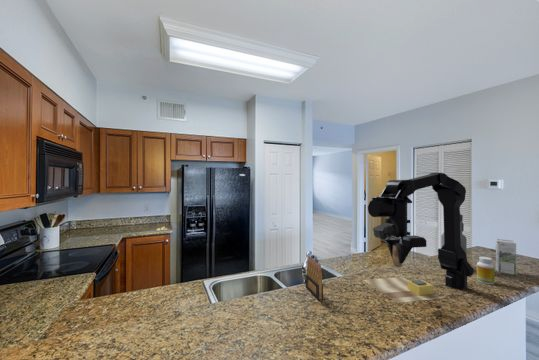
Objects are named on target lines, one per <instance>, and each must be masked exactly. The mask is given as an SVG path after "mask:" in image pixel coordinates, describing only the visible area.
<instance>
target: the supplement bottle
mask: <svg viewBox="0 0 539 360" xmlns="http://www.w3.org/2000/svg"><path fill="white" fill-rule="evenodd" d="M495 270H496V267H495V264H493V258H491V257H487V256H478V262H477V263H476V280H477V282H479V283H482V284H484V285H494V284H495V272H496V271H495Z"/></svg>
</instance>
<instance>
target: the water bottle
mask: <svg viewBox="0 0 539 360" xmlns="http://www.w3.org/2000/svg"><path fill="white" fill-rule="evenodd" d="M463 217H464V215H463V214H461V213H460V239H461V247H462V248H463V250H464V251H465V253H466V256H467V254H468V253H467V247H468V246H467V245H468V244H467V240H468V239H467V237H466V235H464V234H463V232H464V228H465V227H464V221H463V220H464V219H463ZM440 241H441V242H440V244H441V245H440V247H441V248H442V246H443V245H444V232H443V233H442V234H441V238H440ZM441 248H440V249H441Z"/></svg>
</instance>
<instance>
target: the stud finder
mask: <svg viewBox="0 0 539 360" xmlns="http://www.w3.org/2000/svg"><path fill="white" fill-rule="evenodd" d="M407 289H408V290H410V291H412V292H413V293H415V294H417V295H428V294H433V293H434V285H433V284H431V283H429V282H427V281H425V280H423V279H415V280H409V281H408V284H407Z"/></svg>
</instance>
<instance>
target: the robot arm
mask: <svg viewBox="0 0 539 360" xmlns="http://www.w3.org/2000/svg"><path fill="white" fill-rule="evenodd" d="M428 187H431V189H432V190H433V191H434V192H435V193H436V195H437V198H438V201H439V203H440V204H441V205H442V210H443V212H442V213H443V233H444V245H443V246H442V248H438V249H437V254H438V255H437V260H438V262H439V265H440V268H441V269H442V270H445V281H444V282H445V286H446V287H448V288H451V289H458V290H466V289H468V290H469V291H470V290H471V291H472V289H471V288H468V277H472V276H473V275H474V272H475V269H474V268H473V267H472V265H471V263H470V262H469V261H468V258H467V256H466V253H465V251H464V250H463V248H462V247H461V239H460V214H461V210H460V208H461V206H462V205H463V203H464V202H465V200H466V195H467V190H466V189H467V188H466V187H465V186H464V184H462V183H461V182H460V181H459V180H456V179H454V178H452V177H450V176H448V175H447V174H446V173H443V172H431V173H429V174H426V175H425V174H424V175H422V176H418V177H417V176H416V177H413V178H409V179H390V180H388V181H387V182H386V184H385V187H384V188H383V190H382V192H381V193H380V194H379V196H372V198H371V199H372V200H370V201H369V203H368V206H367V211H368V214H369V215H370V217H373V218H385V219H384V223H382V224H379V225H377V226H373V227H372V231H373V236H374V238H377V239H380V240H381V241H383V242H384V243H385V244H386V245H387V247H388V251H389V253H390V257H391V259H392V261H393V245H396V246H397V247H398V253H399V263H402V264H404V263H405V260H406V259H407V257H408V255H409V254H410V252H411V250H412V249H413V248H414V249H415V248H427V239H426V238H425V237H423V236H418V235H411V232H410V231H408V224H411V220H410V219H408V204H412V203H413V201H412V200H411V199H410V198H409V196H411V195H413V194H414V193H415V192H416V191H417V190H420V189H424V188H425V189H426V188H428ZM386 217H387V218H386Z"/></svg>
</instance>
